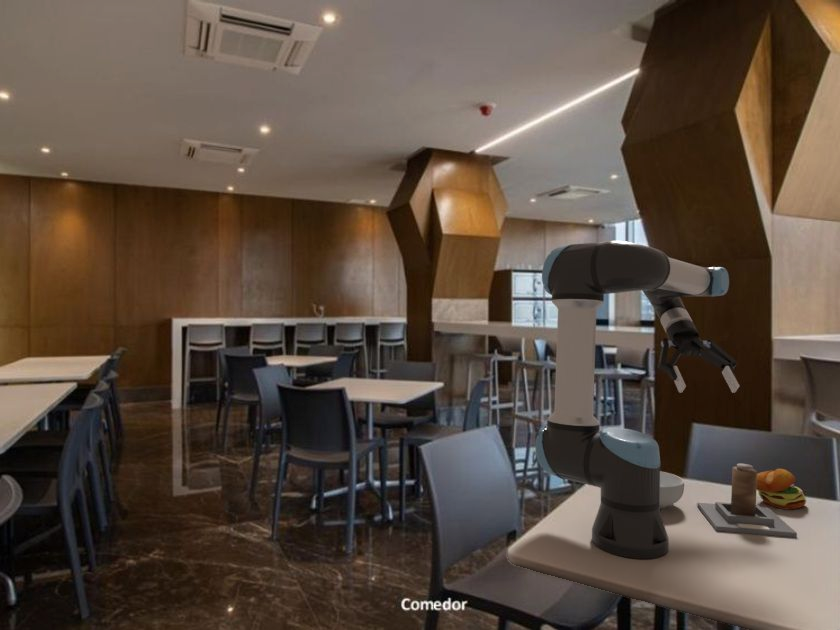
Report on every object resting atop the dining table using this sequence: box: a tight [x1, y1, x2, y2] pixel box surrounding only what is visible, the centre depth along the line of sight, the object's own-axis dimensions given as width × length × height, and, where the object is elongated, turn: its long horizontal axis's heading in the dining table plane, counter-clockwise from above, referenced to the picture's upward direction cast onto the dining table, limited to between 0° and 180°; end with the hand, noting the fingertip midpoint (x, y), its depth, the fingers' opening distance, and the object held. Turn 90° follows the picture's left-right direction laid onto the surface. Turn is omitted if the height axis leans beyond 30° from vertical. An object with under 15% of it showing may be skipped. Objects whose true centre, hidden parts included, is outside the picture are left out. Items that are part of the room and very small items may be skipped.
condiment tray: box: [697, 501, 798, 538], centre depth 130 cm, size 16×16×2 cm
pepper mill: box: [730, 463, 758, 516], centre depth 129 cm, size 5×5×12 cm
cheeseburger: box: [756, 468, 807, 510], centre depth 141 cm, size 10×11×10 cm
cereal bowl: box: [659, 470, 685, 510], centre depth 141 cm, size 17×17×7 cm
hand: (709, 389), depth 138 cm, fingers open, 13 cm apart
